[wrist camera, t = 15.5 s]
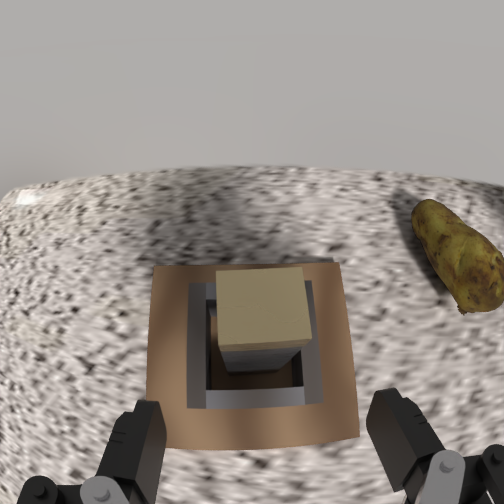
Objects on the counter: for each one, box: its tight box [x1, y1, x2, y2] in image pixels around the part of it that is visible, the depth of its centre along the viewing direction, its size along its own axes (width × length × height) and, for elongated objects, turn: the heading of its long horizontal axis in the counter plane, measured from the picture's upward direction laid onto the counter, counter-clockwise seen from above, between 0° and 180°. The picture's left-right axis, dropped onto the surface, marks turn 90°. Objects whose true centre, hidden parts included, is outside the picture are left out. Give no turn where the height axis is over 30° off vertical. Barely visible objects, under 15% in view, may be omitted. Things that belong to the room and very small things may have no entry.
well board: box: [146, 262, 360, 450], centre depth 21 cm, size 16×15×5 cm
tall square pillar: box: [216, 267, 312, 376], centre depth 17 cm, size 4×3×12 cm
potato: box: [411, 199, 504, 315], centre depth 24 cm, size 8×13×8 cm, turn 174°
